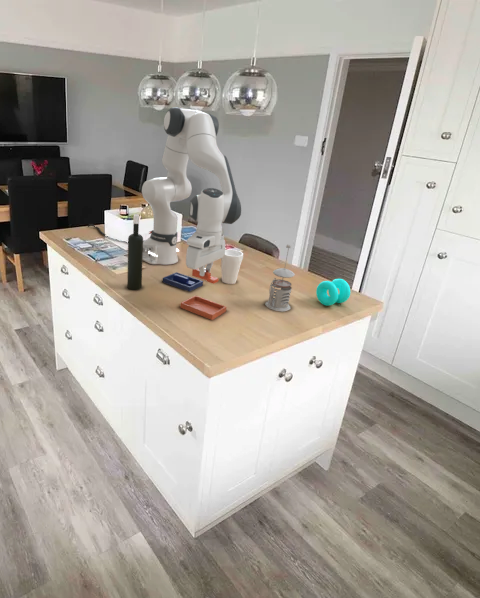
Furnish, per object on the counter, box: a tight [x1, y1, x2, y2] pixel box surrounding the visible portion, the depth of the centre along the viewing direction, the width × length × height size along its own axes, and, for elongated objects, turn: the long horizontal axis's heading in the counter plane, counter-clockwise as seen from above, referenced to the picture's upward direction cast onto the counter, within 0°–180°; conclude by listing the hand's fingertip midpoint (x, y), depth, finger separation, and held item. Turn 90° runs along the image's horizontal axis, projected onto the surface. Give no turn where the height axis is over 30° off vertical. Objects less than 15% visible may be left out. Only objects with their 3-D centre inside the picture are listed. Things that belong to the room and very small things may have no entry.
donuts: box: [315, 278, 351, 307], centre depth 167 cm, size 10×10×10 cm
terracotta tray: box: [179, 295, 228, 321], centre depth 155 cm, size 14×10×2 cm
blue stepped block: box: [173, 274, 195, 287], centre depth 176 cm, size 10×3×3 cm, turn 54°
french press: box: [265, 243, 296, 312], centre depth 157 cm, size 10×12×25 cm
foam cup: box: [220, 249, 244, 285], centre depth 181 cm, size 10×9×13 cm
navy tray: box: [162, 272, 204, 292], centre depth 176 cm, size 14×10×2 cm
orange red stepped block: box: [191, 268, 219, 285], centre depth 150 cm, size 10×3×3 cm, turn 53°
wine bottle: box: [126, 213, 144, 291], centre depth 163 cm, size 6×6×30 cm
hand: (204, 274), depth 150 cm, fingers closed on orange red stepped block
